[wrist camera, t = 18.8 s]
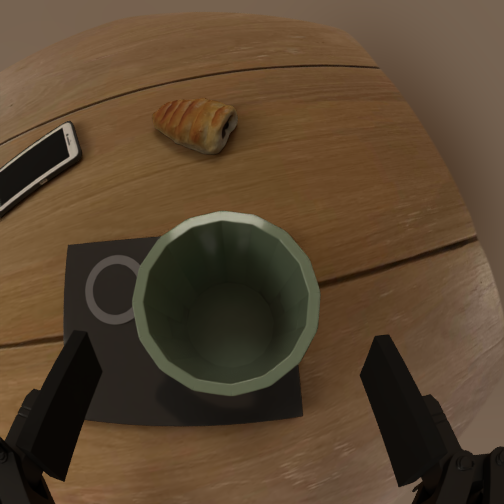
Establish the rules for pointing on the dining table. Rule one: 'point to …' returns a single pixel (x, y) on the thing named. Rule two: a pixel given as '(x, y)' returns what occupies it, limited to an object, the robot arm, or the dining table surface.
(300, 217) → the dining table surface
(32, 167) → the cell phone
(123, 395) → the hob
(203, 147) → the pastry
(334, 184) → the dining table surface
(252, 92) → the dining table surface
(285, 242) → the cup
